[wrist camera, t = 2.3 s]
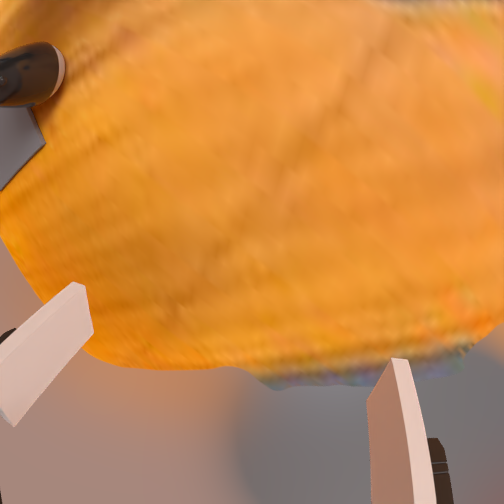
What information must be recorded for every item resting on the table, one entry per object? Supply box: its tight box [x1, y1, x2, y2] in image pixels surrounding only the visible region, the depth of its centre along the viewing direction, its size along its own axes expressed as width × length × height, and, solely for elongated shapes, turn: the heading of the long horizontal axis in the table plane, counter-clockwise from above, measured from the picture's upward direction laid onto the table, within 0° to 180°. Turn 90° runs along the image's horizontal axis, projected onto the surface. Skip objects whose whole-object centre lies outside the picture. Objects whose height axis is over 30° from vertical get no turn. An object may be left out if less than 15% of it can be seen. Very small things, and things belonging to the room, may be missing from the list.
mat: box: [0, 107, 46, 191], centre depth 40 cm, size 13×20×1 cm, turn 113°
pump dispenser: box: [0, 42, 65, 108], centre depth 27 cm, size 10×10×15 cm
